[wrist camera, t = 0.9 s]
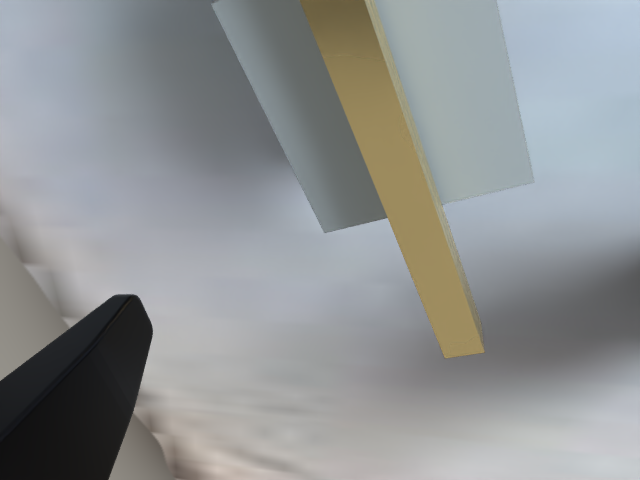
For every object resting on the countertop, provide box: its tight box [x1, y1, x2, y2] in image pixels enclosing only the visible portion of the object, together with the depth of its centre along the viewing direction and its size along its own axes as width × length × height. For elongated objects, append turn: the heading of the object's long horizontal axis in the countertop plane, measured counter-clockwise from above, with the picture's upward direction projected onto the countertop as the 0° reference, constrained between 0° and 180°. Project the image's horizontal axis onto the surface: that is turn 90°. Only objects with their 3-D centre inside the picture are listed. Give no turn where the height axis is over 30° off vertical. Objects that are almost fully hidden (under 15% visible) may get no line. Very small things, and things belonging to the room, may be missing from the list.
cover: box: [211, 0, 534, 233], centre depth 15 cm, size 7×6×3 cm
